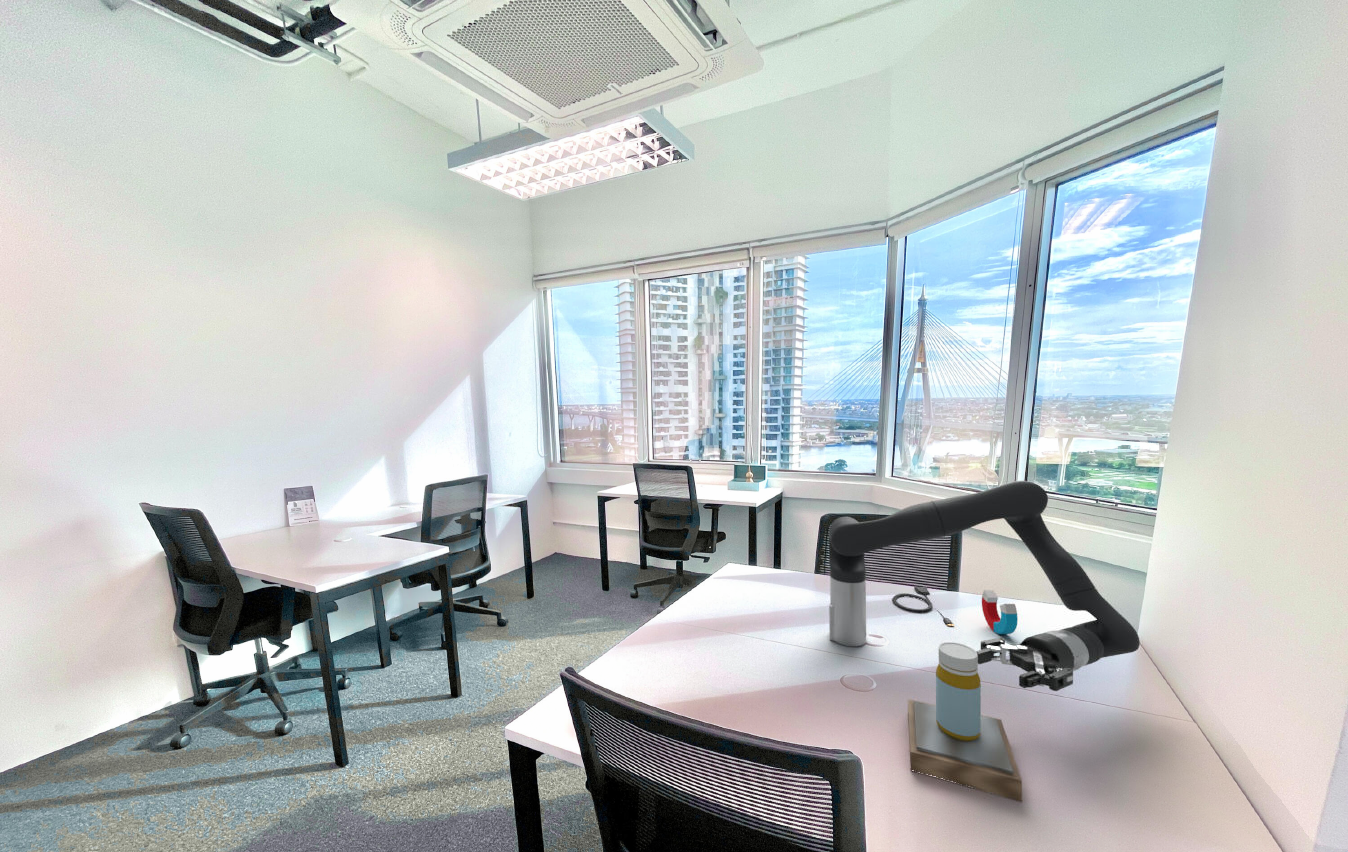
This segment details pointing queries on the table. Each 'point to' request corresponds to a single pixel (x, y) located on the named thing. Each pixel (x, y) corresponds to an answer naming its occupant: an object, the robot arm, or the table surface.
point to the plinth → (963, 753)
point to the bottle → (958, 692)
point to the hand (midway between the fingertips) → (998, 669)
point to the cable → (923, 592)
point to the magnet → (992, 618)
